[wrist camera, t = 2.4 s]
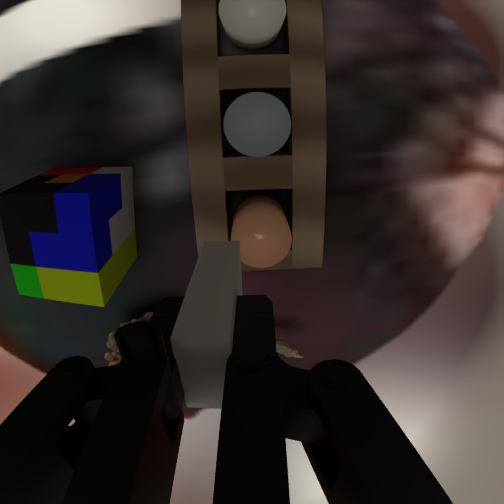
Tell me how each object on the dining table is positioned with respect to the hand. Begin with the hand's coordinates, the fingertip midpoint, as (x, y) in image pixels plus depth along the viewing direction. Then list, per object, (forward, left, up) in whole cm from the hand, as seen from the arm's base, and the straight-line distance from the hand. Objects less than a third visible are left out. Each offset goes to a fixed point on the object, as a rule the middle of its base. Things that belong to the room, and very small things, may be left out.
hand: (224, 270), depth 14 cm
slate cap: (-6, +2, -16) cm, 17 cm away
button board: (-6, +2, -19) cm, 19 cm away
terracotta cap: (+3, +2, -16) cm, 17 cm away
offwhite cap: (-15, +2, -16) cm, 22 cm away
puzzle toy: (+2, -16, -19) cm, 25 cm away
